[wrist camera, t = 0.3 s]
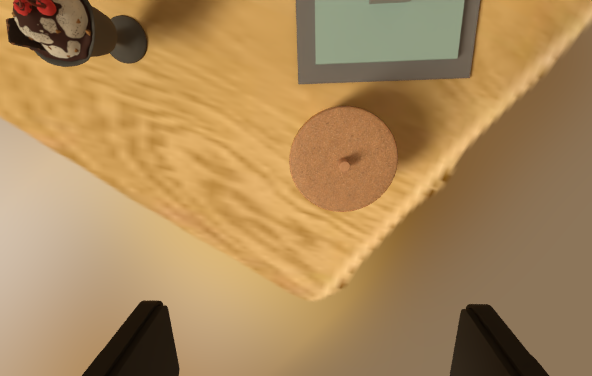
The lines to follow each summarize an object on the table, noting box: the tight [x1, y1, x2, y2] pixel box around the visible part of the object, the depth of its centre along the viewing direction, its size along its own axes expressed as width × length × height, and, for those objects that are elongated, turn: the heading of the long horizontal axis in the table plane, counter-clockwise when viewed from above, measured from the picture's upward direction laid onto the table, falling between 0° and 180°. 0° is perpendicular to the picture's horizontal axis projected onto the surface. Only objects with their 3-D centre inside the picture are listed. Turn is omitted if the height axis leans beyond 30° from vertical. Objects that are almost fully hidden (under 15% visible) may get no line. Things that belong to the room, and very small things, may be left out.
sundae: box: [6, 0, 147, 67], centre depth 28 cm, size 7×7×15 cm
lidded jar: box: [289, 106, 398, 212], centre depth 33 cm, size 11×11×9 cm
